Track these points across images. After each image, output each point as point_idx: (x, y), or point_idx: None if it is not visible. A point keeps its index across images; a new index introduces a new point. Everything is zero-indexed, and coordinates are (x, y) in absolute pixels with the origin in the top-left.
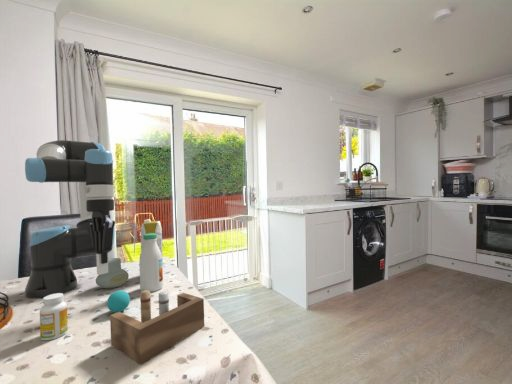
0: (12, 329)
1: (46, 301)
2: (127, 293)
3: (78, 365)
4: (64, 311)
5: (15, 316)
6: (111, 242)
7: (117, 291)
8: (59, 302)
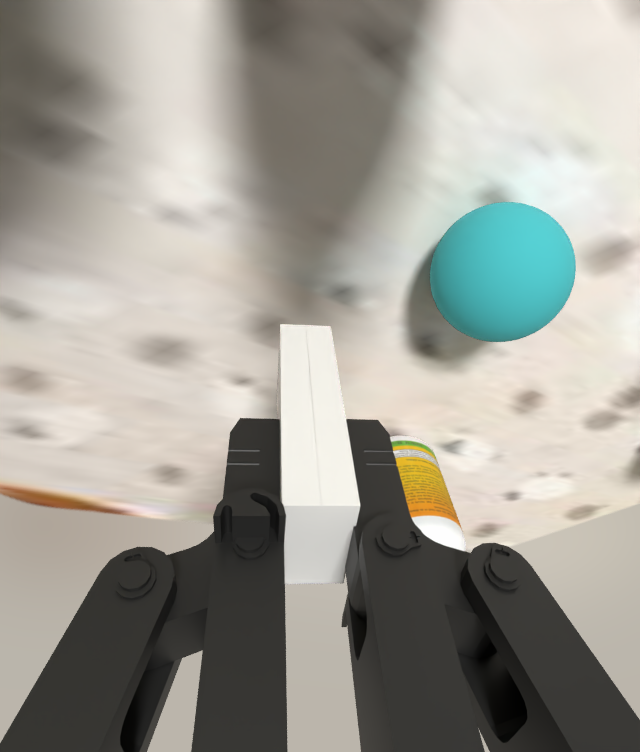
0: (201, 510)
1: None
2: (561, 246)
3: (632, 476)
4: (457, 518)
5: (53, 486)
6: (621, 711)
7: (525, 313)
8: None
